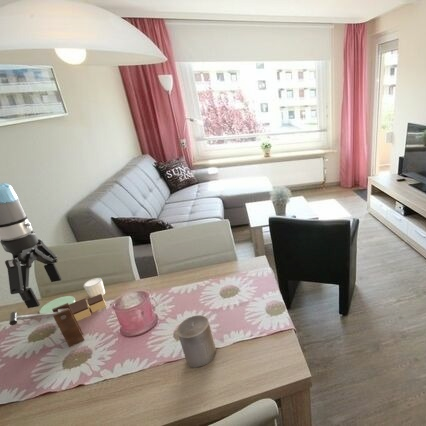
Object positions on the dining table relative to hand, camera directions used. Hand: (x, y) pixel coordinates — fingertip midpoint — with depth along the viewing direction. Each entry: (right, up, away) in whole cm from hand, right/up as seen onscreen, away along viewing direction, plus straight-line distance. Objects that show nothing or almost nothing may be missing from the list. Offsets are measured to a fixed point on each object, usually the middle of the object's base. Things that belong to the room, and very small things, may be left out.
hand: (46, 292), depth 95 cm
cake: (-10, -17, +25) cm, 32 cm away
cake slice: (-5, -15, +30) cm, 34 cm away
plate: (-25, -15, +32) cm, 43 cm away
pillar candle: (+49, -23, +6) cm, 54 cm away
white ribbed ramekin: (-12, -12, +38) cm, 42 cm away
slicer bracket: (-1, -22, +13) cm, 26 cm away
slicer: (-6, -10, +4) cm, 12 cm away
